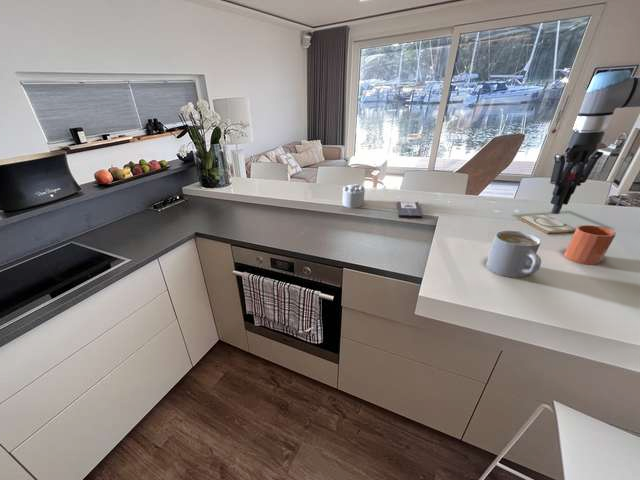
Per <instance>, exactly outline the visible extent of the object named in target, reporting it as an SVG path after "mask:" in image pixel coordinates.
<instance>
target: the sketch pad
mask: <svg viewBox="0 0 640 480" xmlns="http://www.w3.org/2000/svg"><path fill="white" fill-rule="evenodd" d="M515 218H516V219H517V220H520V221H522V222H523V223H526V224H527V225H529V226H531V227H533V228H535V229H536V230H539V231H540V232H542V233H544V234H546V235H552V234H567V233H568V234H569V233H575V230H576V228H577V227H573V226H571V225H569V224H567V223H565V222H563V221H562V220H559V219H556V218H553V217H551V216H549V215H548V214H544V213H543V214H527V215H526V214H525V215H516V216H515Z"/></svg>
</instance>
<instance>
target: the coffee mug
mask: <svg viewBox="0 0 640 480" xmlns="http://www.w3.org/2000/svg"><path fill="white" fill-rule="evenodd" d="M540 245H541V239H540V238H539V237H538V236H536V235H535V234H532V233H528V232H524V231H519V230H501V231H498V232H497V233H495V236H494V239H493V242H492V245H491V249H490V251H489V254H488V257H487V260H486V263H485V267H486V268H487V270H489V271H490V272H491V273H493V274H495V275H499V276H501V277H505V278H510V279H511V278H512V279H519V278H524V277H526V276H527V275H532V274H535V273H537V272H538V271H539V269H540V268H541V265H542V259H541V256H540V255H539V254H537V253H538V250H539V249H540Z"/></svg>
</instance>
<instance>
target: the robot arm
mask: <svg viewBox="0 0 640 480" xmlns="http://www.w3.org/2000/svg"><path fill="white" fill-rule="evenodd" d="M631 73H632V71H631V70H629V69H626V70H625V69H624V70H615V71H613V70H612V71H603V72H599V73H597V74H595V75H594V76H593V77H592V79H591V81H590V84H589V85H588V88H587V90H586V91H585V95H584V98H583V101H582V103H581V107H580V109H579V112H578V114H577V117H576V119H575V122H574V125H573V127H572V130H573V131H572V132H570V135H569V137H568V140H567V147H566V149H565V150H564V152H562V153H560V154H558V153H557V154H555V155H554V156H553V157H554V165H553V169H552V173H551V177H550V181H549V183H550V184H552V185H554V188H553V191H552V198H551V200H550V202H549V203H550V204H551V205H553V206H554V205H559V203H560V201H561V198H562V196H563V194H564V191H565V189H566V186H564V185H565V183H566V181H567V179H568V177H569V175H570V173H571V172H574V173H576V174H575V177H574V179H573V181H572V183H571V186H570V188H569V191H568V193H567V196H566V198H565V201H564V203H563V205H565V206H566V205H568V204H569V202H570V199H571V197H572V195H574V193H575V191H576V189H577V187H580V186H581V185H582V184H585V183H586V182H587V180H588V178H589V177H590V174H591V173H592V171H593V169H594V168H595V166H596V164H597V162H598V161H599V159H601V157H602V156H603V155H604V151H599V150H598V147H597V146H598V145H600V144H601V142H602V140H603V138H604V136H605V133H606V132H605V130H607V129H608V127H609V124H610V122H611V120H612V117H613V115H614V112H615V111H616V109H624V108H640V74H636V75H634V76H631Z"/></svg>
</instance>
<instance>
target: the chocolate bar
mask: <svg viewBox="0 0 640 480" xmlns="http://www.w3.org/2000/svg"><path fill="white" fill-rule="evenodd" d="M396 203H397V204H396V206H397V213H398V214H397V215H398V218H411V219H412V218H415V219H416V218H418V219H422V218H423V214H422V211H421V207H420V205H419V201H397V202H396Z"/></svg>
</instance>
